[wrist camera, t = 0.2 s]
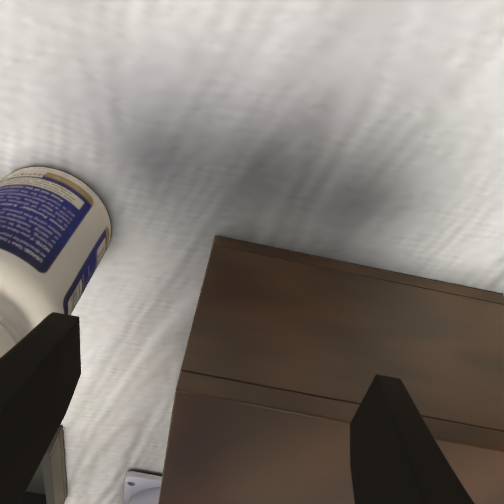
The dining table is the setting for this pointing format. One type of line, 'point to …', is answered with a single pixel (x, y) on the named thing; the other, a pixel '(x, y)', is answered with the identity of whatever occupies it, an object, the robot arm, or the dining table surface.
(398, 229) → the dining table surface
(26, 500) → the tray
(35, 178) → the pill bottle
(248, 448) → the cabinet
